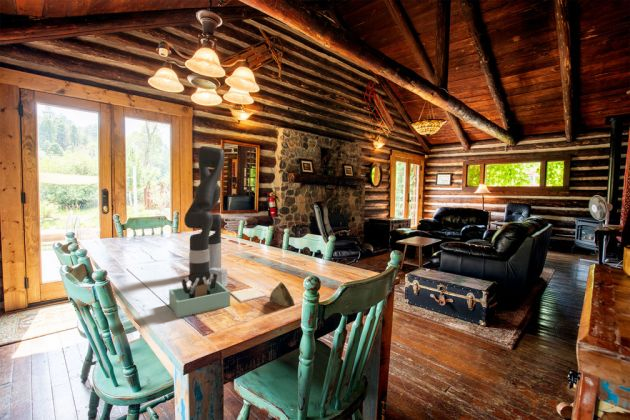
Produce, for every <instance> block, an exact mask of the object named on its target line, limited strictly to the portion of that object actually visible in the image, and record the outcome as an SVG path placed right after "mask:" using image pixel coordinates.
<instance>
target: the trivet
mask: <svg viewBox="0 0 630 420" xmlns="http://www.w3.org/2000/svg"><path fill="white" fill-rule="evenodd" d="M230 295H232V296H233V297H234V298H235V299H237V301H239V302H240V303H243V302H248V301H252V300H256V299H261V298H265V297H267V294H266V293H264V291H263V292H262V290H260V289H259V288H257V287H255V286H254V287H248V288H244V289H239V290H235V291H230Z"/></svg>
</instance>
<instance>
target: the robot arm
mask: <svg viewBox="0 0 630 420" xmlns="http://www.w3.org/2000/svg"><path fill="white" fill-rule="evenodd" d="M225 155H226V153H225V151H224V149H222V148H218V147H212V146H204V145H203V146H200V147H199V149H198V152H197V159H198V160H197V161H198V171H199V182H200V183H199V184H198V186H197V187H196V190H195V194H194V199H193V201H192V203H191V205H190V206H189V208H188V210H186V212H185V215H184V217H183V218H184V219H183V221H184V225H185V226H186V227H187V228H188V229H201V232H200V233H196V234H195V233H194V234H192V235H190V237H189V255H188V259H189V261H188V262H189V265H188V266H189V267H188V268H189V273H188V276H186V277H181V278H180V281H181V285H182V288H183V290H184V292H185V293H186V294H187V293H189V299H191V298H194V294H193V292H194V289H195V286H196V285H200V284H207V295H210V290H211V289H212V288H215V284H216V279H217V274H216V273H210V272H209V269H211V268H214V267H215V268H222V215H221V214H219V213H211V212H210V211H211V210H212V209H213V208H214V207H215V206H217V204H218V203H219V201H220V197H221V196H220V194H221V193H220V190H221V188H220V185H219V183H218V181H219V179H220V176H221V173H222V170H223V167H224V163H225V159H226V158H225V157H226V156H225ZM209 169H213V170H212V171H211V172H210V170H209ZM210 232H213V233H212V234H211V233H210ZM210 276H211V278H212V280H211V285H210V286H209V284H208V283H209V282H208V279H209V277H210ZM189 281H190V282H191V283H190V284H189V285H190V288H189V289H188V288H187V287H188V285H187V284H188V283H189Z"/></svg>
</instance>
